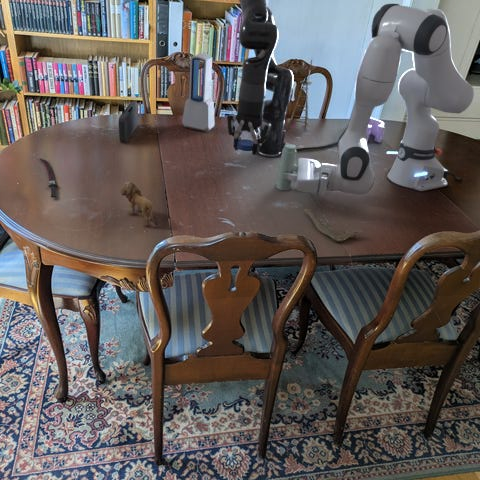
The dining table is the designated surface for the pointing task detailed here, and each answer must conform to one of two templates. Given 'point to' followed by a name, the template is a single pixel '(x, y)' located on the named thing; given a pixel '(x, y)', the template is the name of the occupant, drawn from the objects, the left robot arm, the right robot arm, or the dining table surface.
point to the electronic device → (199, 97)
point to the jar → (286, 166)
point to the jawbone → (331, 232)
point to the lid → (245, 145)
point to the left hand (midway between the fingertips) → (245, 151)
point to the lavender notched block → (375, 129)
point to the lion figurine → (137, 201)
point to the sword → (52, 181)
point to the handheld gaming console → (128, 121)
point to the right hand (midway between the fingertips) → (283, 170)
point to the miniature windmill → (305, 83)
